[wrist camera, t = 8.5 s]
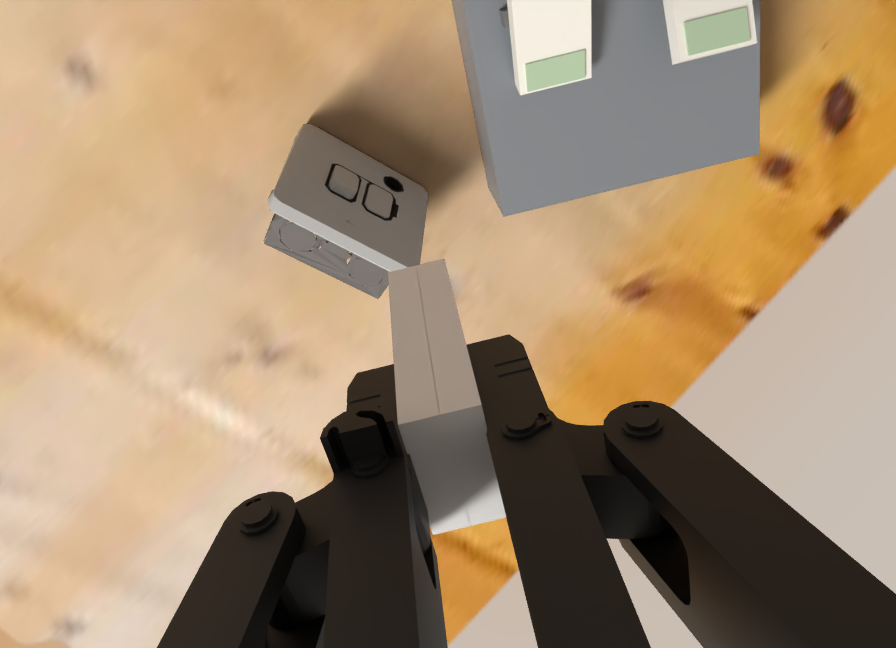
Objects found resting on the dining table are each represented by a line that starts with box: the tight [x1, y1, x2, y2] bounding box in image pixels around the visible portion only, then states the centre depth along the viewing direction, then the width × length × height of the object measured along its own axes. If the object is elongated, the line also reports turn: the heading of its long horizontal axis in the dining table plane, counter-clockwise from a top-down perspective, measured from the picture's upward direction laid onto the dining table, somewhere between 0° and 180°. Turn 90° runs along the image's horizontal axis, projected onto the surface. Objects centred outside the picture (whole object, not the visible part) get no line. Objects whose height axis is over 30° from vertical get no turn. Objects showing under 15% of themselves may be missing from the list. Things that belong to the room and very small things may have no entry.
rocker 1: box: [507, 0, 592, 95], centre depth 35 cm, size 8×4×1 cm, turn 13°
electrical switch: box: [264, 124, 429, 299], centre depth 43 cm, size 9×5×9 cm, turn 58°
